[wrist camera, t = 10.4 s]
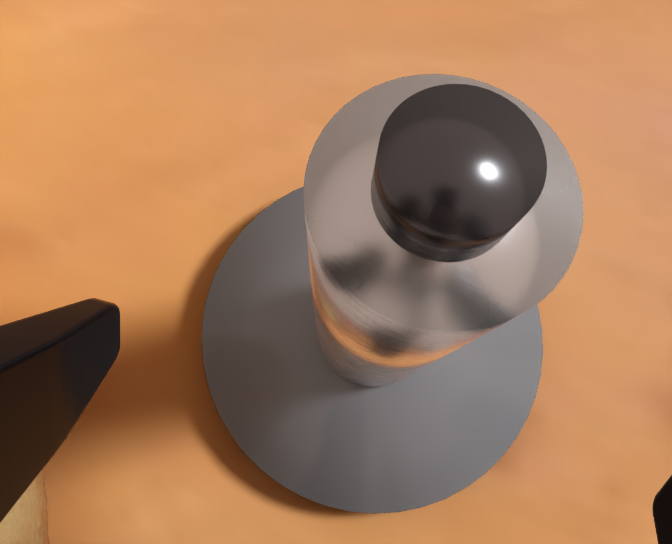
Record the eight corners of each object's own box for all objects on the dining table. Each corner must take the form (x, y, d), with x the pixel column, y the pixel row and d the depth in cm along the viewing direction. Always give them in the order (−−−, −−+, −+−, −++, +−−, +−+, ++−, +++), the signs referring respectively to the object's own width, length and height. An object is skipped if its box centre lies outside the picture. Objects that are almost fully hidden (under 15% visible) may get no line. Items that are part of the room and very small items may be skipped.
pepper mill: (322, 393, 20) (319, 335, 6) (310, 282, 21) (285, 36, 8) (437, 379, 20) (667, 294, 7) (418, 270, 22) (578, 11, 8)
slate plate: (216, 530, 20) (210, 537, 18) (201, 201, 24) (194, 189, 22) (566, 484, 20) (580, 487, 19) (494, 172, 24) (503, 159, 23)
